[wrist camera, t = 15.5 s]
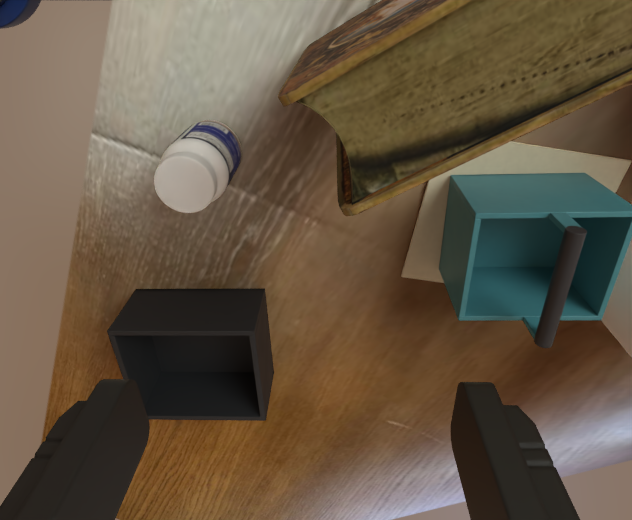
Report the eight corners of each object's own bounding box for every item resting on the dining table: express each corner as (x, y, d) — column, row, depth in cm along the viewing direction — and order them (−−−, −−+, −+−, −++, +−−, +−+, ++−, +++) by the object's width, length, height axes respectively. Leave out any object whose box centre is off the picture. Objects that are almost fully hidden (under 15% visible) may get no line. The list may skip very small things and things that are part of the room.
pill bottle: (205, 186, 45) (175, 230, 36) (171, 135, 42) (129, 170, 34) (254, 161, 43) (234, 201, 35) (222, 107, 41) (191, 135, 32)
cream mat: (400, 275, 49) (401, 277, 49) (442, 130, 41) (443, 131, 41) (558, 297, 50) (560, 299, 49) (629, 159, 42) (632, 161, 41)
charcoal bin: (159, 372, 58) (136, 419, 51) (135, 288, 51) (106, 331, 45) (273, 372, 57) (265, 420, 51) (264, 288, 51) (254, 331, 44)
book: (498, -72, 33) (795, -204, 12) (519, 2, 36) (799, 4, 14) (308, 44, 38) (271, 102, 16) (337, 103, 40) (339, 222, 19)
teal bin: (438, 269, 48) (468, 348, 37) (450, 174, 43) (489, 234, 32) (558, 268, 47) (625, 348, 36) (585, 172, 42) (673, 232, 31)
